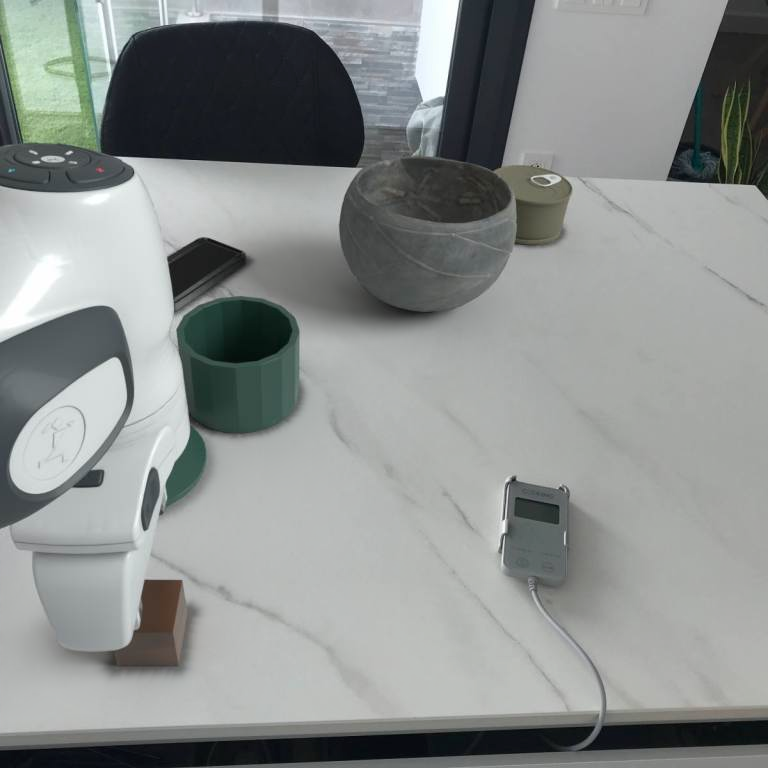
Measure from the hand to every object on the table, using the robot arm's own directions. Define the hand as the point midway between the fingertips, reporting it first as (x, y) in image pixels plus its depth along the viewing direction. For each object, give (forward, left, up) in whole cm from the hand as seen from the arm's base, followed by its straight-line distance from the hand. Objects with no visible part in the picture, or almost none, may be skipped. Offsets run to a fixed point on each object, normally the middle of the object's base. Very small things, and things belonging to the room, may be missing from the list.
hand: (142, 560), depth 54 cm
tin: (+25, +15, -9) cm, 30 cm away
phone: (+37, +36, -9) cm, 52 cm away
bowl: (+54, +12, -9) cm, 56 cm away
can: (+80, +11, -9) cm, 81 cm away
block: (0, 0, -9) cm, 9 cm away
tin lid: (+11, +15, -9) cm, 20 cm away
